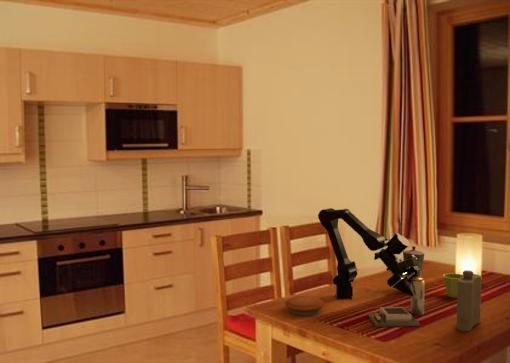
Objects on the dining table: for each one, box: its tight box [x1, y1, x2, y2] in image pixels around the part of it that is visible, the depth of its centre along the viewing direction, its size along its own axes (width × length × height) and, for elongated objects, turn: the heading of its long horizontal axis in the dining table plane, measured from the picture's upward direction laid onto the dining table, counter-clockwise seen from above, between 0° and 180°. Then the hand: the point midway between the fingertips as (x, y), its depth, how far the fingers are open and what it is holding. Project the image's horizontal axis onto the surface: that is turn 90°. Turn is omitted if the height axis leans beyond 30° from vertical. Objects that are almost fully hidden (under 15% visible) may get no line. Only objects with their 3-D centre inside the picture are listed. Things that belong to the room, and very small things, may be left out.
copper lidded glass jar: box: [410, 276, 426, 316], centre depth 212 cm, size 5×5×14 cm
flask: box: [456, 270, 482, 333], centre depth 198 cm, size 15×6×20 cm, turn 141°
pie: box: [284, 295, 325, 317], centre depth 216 cm, size 16×16×5 cm
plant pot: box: [442, 273, 463, 298], centre depth 235 cm, size 9×9×9 cm
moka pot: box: [402, 245, 425, 289], centre depth 242 cm, size 10×15×20 cm, turn 153°
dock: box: [368, 306, 421, 328], centre depth 204 cm, size 16×12×4 cm
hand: (417, 293), depth 212 cm, fingers open, 9 cm apart
